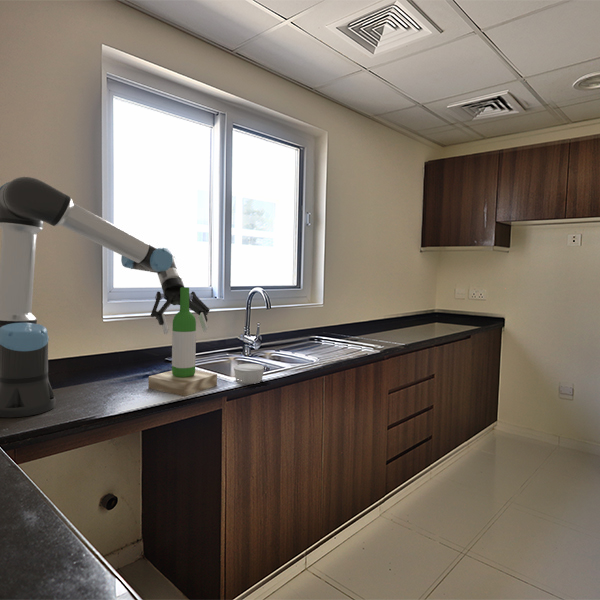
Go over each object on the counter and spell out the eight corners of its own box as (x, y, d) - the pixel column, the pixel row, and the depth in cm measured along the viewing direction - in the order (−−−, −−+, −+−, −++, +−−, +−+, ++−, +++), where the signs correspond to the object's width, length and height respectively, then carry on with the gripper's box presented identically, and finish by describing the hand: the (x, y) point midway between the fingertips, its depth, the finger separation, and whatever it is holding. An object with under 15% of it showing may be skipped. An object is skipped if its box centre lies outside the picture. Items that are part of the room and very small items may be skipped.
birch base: (183, 396, 138) (184, 384, 137) (148, 388, 145) (148, 376, 145) (216, 385, 152) (217, 374, 151) (182, 378, 159) (183, 367, 159)
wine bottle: (186, 371, 154) (187, 286, 152) (200, 375, 149) (201, 288, 147) (167, 375, 148) (168, 287, 146) (180, 379, 143) (182, 288, 141)
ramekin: (237, 385, 152) (237, 371, 152) (230, 378, 163) (230, 364, 162) (267, 383, 157) (268, 369, 156) (259, 376, 167) (259, 362, 167)
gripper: (201, 290, 166) (217, 335, 155) (134, 290, 151) (146, 339, 140) (207, 277, 161) (224, 322, 150) (138, 275, 147) (151, 325, 136)
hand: (186, 330), depth 145 cm, fingers open, 13 cm apart
